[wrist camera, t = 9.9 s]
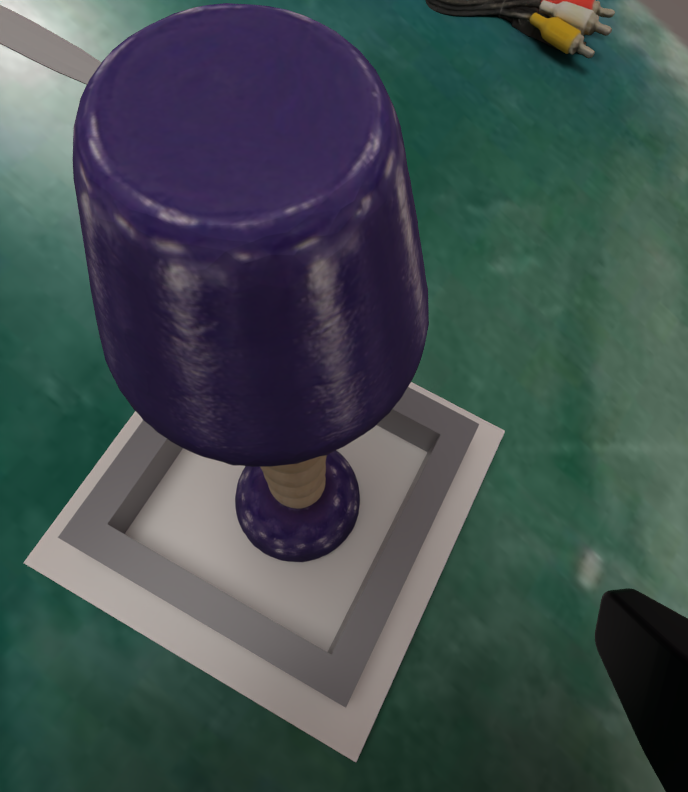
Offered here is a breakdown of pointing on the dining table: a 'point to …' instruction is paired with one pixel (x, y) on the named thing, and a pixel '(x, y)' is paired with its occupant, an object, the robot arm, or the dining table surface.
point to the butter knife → (45, 46)
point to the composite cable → (539, 19)
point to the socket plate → (277, 563)
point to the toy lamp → (253, 254)
